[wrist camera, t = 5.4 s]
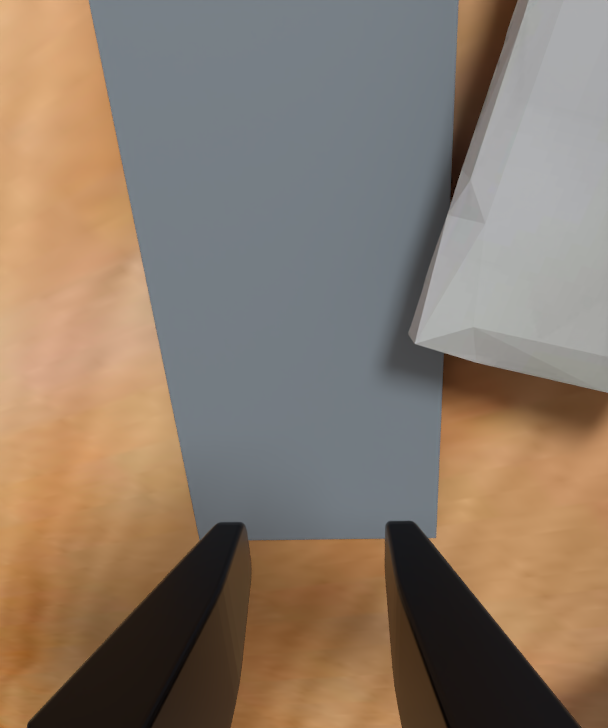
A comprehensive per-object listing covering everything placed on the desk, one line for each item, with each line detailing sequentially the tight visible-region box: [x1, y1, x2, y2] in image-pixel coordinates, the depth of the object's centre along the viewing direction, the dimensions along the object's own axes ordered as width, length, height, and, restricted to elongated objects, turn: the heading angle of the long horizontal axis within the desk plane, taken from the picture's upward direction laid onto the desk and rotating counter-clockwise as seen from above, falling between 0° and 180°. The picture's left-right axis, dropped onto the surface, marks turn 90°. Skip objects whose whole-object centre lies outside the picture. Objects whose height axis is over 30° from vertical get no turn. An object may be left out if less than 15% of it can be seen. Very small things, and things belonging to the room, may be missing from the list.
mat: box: [89, 0, 459, 540], centre depth 20 cm, size 22×11×1 cm, turn 4°
